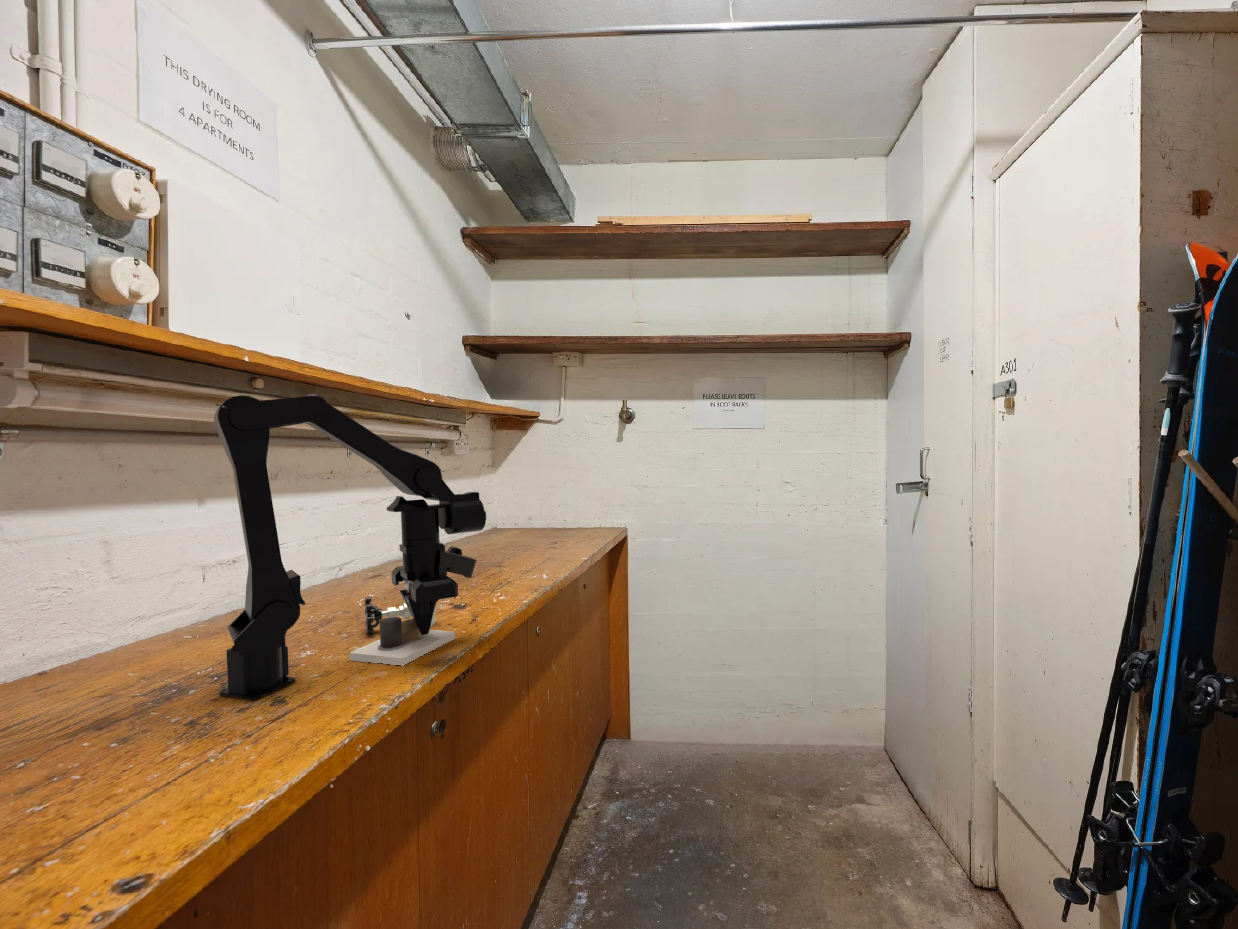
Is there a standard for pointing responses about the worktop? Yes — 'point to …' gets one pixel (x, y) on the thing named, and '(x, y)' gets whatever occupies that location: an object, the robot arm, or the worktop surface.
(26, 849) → the worktop surface
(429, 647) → the dial board
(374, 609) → the valve
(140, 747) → the worktop surface
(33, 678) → the worktop surface
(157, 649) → the worktop surface
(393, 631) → the lever
